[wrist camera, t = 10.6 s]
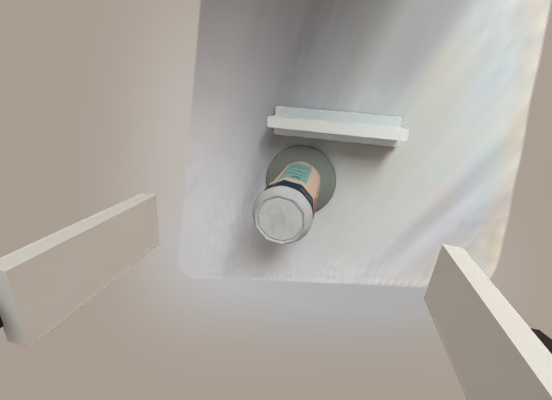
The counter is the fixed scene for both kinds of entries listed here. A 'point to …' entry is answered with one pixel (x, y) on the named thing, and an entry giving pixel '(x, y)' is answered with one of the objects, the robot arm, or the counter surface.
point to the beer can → (288, 203)
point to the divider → (338, 126)
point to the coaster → (311, 157)
